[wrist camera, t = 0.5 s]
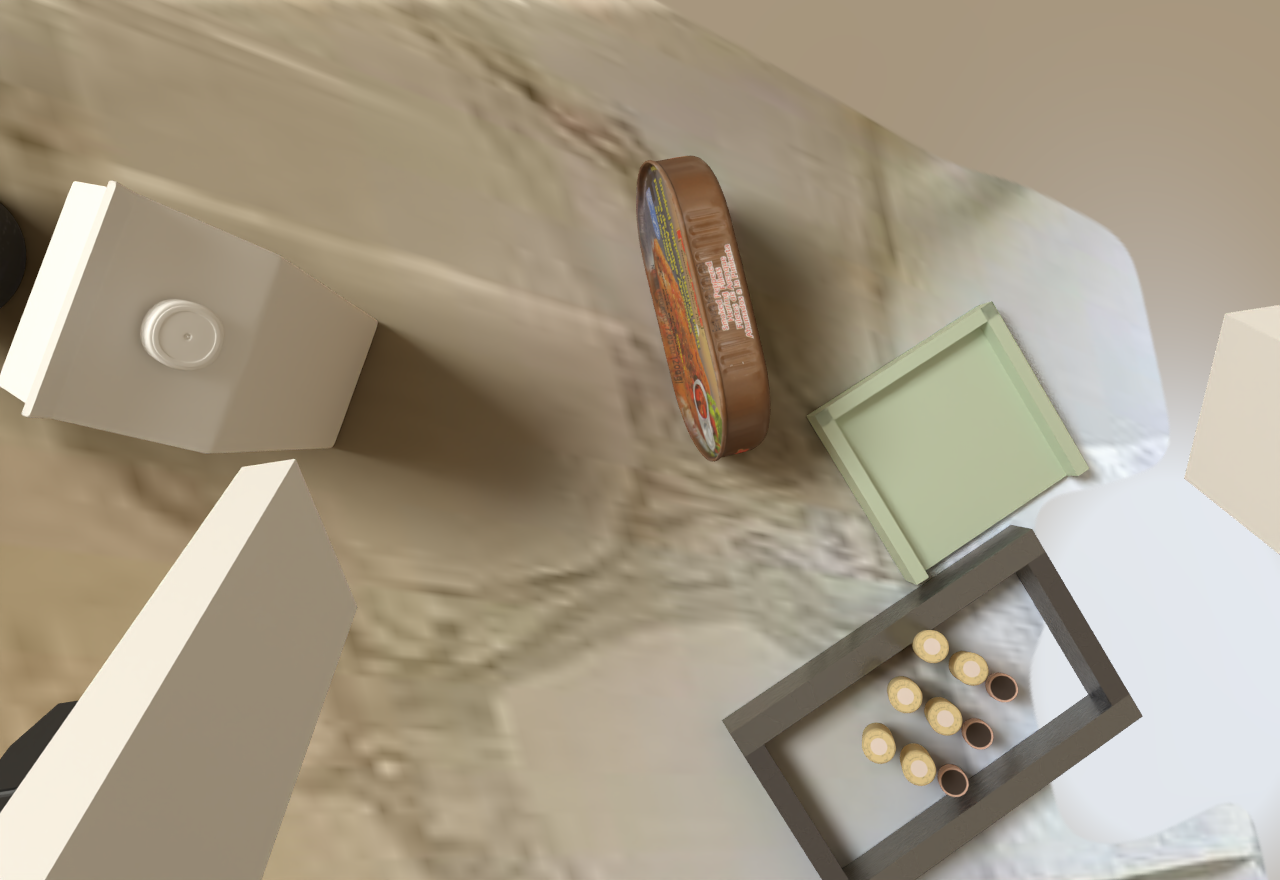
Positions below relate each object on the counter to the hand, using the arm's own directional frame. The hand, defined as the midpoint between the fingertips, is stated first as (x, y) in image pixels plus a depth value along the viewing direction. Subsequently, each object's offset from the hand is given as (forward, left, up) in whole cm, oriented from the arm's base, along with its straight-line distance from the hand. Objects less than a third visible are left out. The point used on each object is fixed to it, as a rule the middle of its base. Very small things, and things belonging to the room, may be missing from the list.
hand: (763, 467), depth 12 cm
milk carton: (+12, +12, -32) cm, 36 cm away
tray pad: (-10, -16, -32) cm, 37 cm away
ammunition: (-22, -7, -32) cm, 39 cm away
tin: (+4, -7, -32) cm, 33 cm away
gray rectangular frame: (-22, -7, -32) cm, 40 cm away
